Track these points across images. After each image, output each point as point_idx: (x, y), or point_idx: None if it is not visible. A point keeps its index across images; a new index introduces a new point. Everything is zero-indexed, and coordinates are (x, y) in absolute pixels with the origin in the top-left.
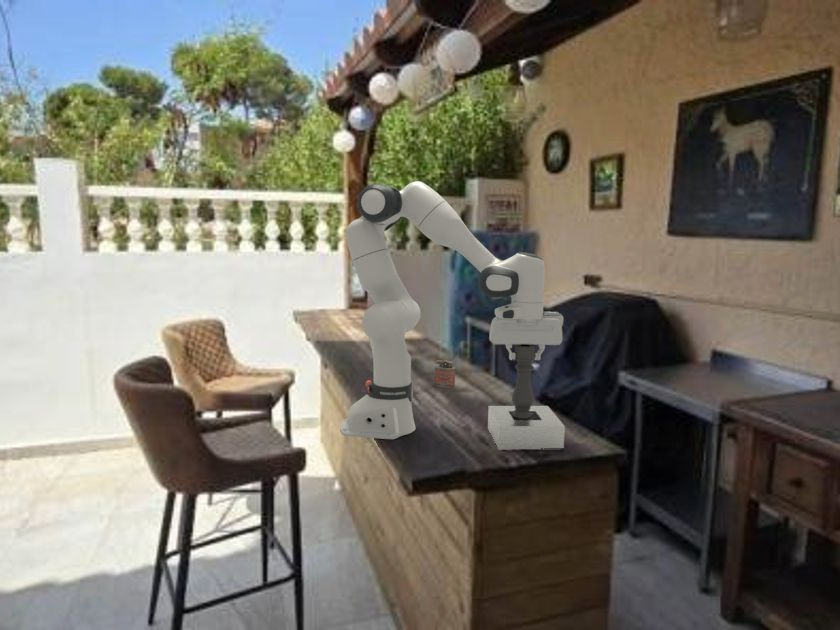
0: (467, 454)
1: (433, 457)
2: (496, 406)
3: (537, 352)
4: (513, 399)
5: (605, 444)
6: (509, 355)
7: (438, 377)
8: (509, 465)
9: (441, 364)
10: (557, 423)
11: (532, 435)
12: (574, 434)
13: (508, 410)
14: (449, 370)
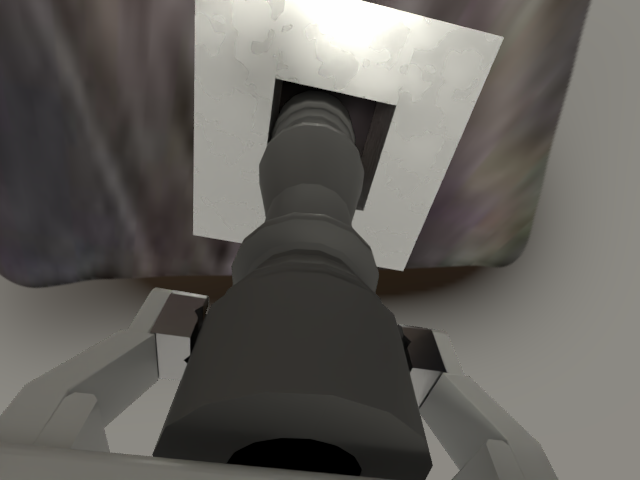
0: (125, 200)
1: (30, 200)
2: None
3: (443, 385)
4: (259, 182)
5: (529, 215)
6: (141, 318)
7: None
8: (221, 274)
9: None
10: (395, 248)
11: None
12: (511, 122)
13: (279, 67)
14: None
